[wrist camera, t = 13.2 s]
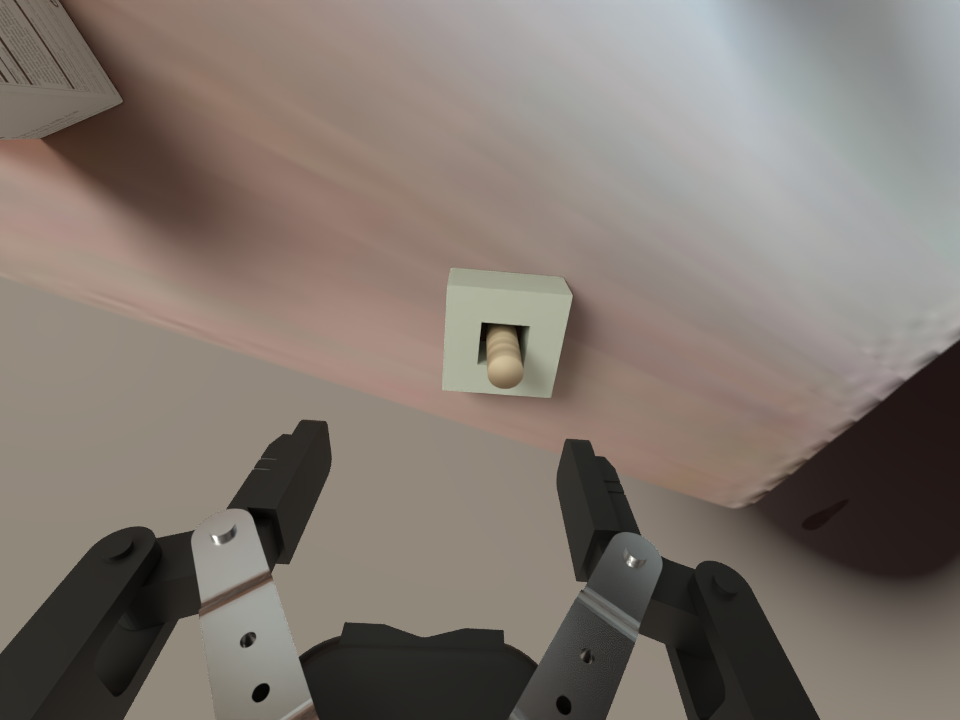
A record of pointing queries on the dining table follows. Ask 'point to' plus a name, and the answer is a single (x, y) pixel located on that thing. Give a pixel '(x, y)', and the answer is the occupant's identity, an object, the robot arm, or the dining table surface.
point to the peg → (503, 356)
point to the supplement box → (46, 71)
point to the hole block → (504, 302)
